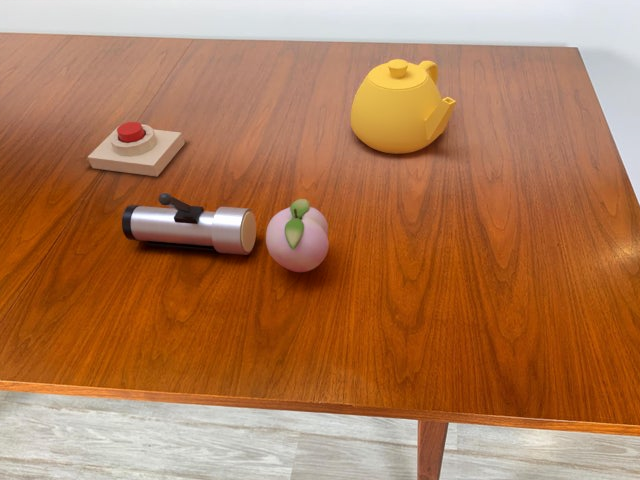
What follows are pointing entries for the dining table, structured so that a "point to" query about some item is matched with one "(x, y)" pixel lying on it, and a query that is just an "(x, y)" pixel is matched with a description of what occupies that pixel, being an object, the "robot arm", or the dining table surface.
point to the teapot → (400, 107)
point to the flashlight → (192, 228)
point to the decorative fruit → (298, 237)
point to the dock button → (130, 132)
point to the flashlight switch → (174, 203)
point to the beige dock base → (137, 152)
